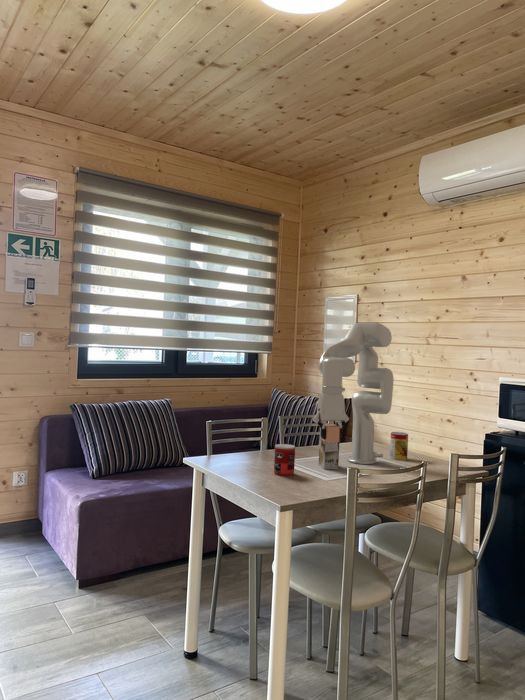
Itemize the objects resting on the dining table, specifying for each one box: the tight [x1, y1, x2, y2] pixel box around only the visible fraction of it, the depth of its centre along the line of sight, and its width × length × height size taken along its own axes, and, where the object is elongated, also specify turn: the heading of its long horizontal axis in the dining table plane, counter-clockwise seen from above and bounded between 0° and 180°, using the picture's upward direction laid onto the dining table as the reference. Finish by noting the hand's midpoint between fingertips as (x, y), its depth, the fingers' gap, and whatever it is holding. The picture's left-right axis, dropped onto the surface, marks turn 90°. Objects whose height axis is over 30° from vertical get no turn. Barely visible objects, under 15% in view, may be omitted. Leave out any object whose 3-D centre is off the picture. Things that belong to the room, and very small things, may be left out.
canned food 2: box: [389, 431, 409, 462], centre depth 245 cm, size 8×8×12 cm
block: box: [322, 423, 340, 443], centre depth 200 cm, size 5×5×6 cm
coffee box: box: [318, 427, 341, 470], centre depth 221 cm, size 9×6×16 cm
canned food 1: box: [273, 443, 296, 477], centre depth 206 cm, size 8×8×11 cm
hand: (330, 437), depth 200 cm, fingers closed on block, 5 cm apart
